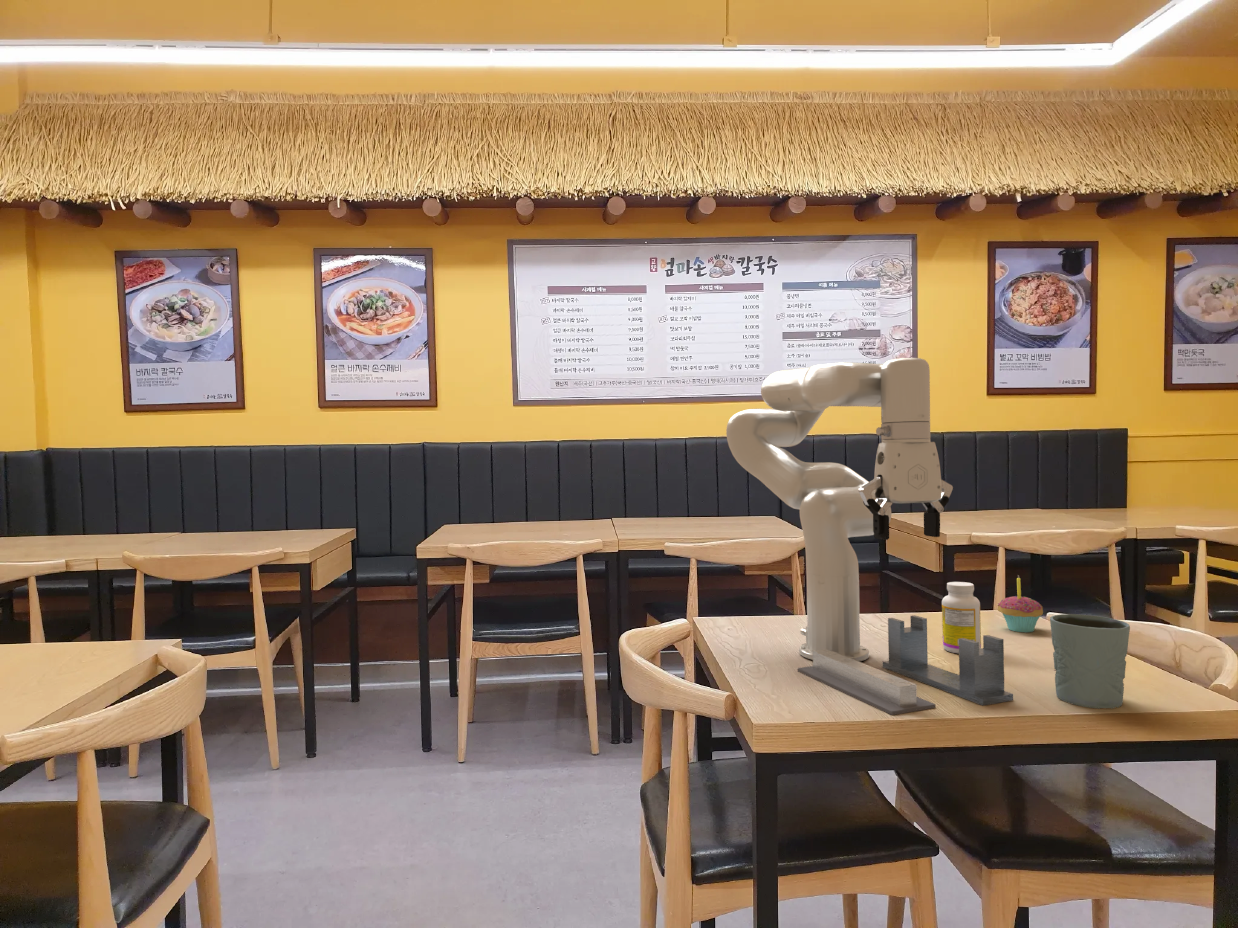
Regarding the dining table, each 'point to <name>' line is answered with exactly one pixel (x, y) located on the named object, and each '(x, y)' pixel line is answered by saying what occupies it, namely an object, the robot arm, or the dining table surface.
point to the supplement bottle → (960, 616)
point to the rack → (975, 677)
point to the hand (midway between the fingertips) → (906, 537)
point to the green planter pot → (1089, 659)
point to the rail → (866, 678)
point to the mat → (865, 693)
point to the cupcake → (1020, 611)
